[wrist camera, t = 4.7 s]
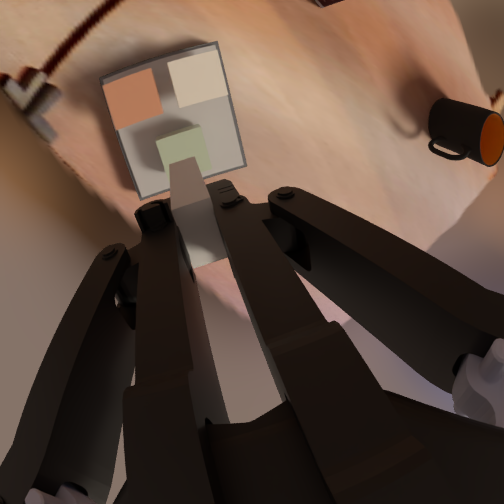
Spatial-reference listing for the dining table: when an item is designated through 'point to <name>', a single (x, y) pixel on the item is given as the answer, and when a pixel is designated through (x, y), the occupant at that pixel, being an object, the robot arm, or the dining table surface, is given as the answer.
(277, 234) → the robot arm
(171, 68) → the cream key
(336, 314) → the dining table surface
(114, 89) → the terracotta key
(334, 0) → the supplement box
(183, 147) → the sage key
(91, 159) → the dining table surface
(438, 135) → the mug
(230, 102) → the keypad
